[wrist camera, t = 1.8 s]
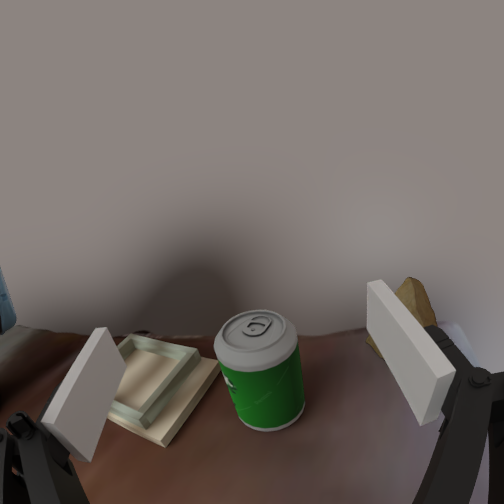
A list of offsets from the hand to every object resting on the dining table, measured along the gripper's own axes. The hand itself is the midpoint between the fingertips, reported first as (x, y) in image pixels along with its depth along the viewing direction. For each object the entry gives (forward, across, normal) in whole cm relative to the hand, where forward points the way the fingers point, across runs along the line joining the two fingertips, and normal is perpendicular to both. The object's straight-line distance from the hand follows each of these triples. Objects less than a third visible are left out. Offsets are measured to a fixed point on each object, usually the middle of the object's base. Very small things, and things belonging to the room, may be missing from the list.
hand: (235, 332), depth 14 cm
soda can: (+10, 0, -19) cm, 22 cm away
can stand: (+16, -17, -19) cm, 30 cm away
